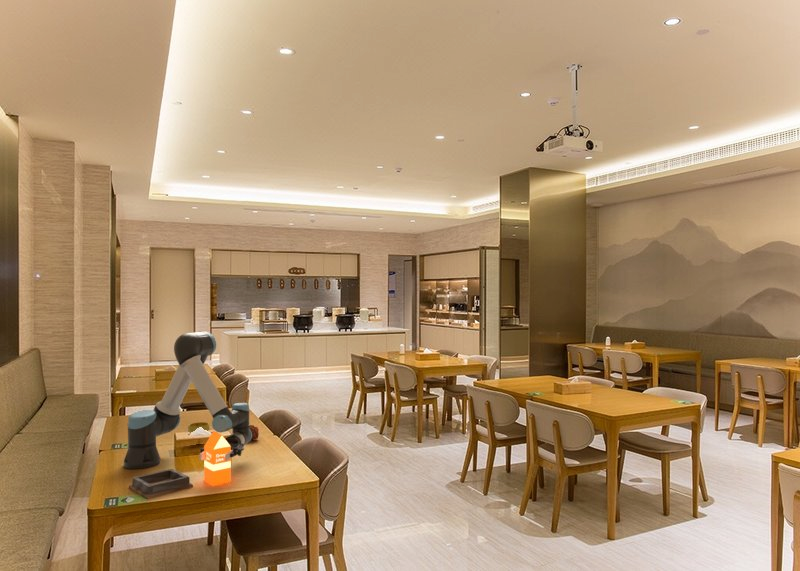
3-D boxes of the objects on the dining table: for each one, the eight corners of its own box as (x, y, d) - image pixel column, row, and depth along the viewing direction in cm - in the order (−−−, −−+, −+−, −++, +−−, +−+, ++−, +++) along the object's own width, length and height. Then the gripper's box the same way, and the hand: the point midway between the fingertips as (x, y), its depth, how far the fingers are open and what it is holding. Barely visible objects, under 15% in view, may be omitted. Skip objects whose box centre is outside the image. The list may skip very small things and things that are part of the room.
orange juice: (212, 486, 229) (212, 436, 229) (203, 480, 235) (203, 432, 236) (231, 482, 234) (231, 433, 234) (222, 476, 241) (222, 429, 241)
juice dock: (128, 487, 228) (128, 477, 228) (173, 477, 241) (173, 467, 241) (147, 498, 215) (147, 488, 216) (192, 486, 228) (192, 476, 228)
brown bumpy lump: (252, 446, 296) (247, 444, 306) (265, 434, 300) (259, 433, 310) (241, 433, 294) (237, 432, 305) (254, 422, 298) (249, 421, 309)
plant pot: (202, 446, 291) (202, 426, 291) (184, 445, 293) (184, 425, 293) (213, 440, 301) (213, 422, 301) (195, 440, 303) (195, 421, 303)
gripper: (258, 452, 252) (240, 467, 230) (208, 451, 254) (186, 466, 231) (258, 434, 252) (240, 448, 230) (208, 434, 254) (186, 447, 231)
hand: (213, 457), depth 231 cm, fingers closed on orange juice, 10 cm apart
